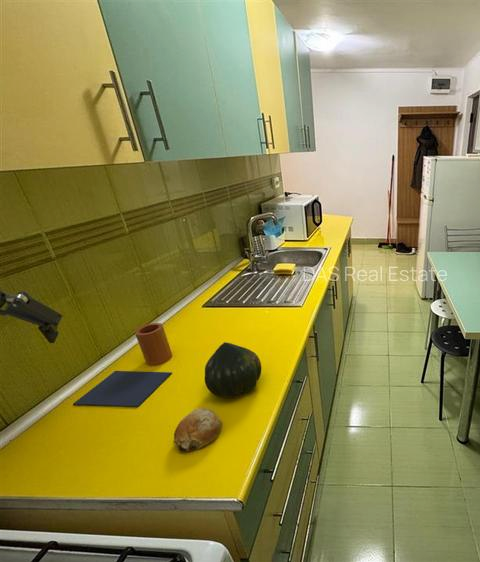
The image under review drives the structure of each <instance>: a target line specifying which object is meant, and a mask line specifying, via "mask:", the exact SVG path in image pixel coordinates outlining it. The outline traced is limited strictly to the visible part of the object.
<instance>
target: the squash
mask: <svg viewBox="0 0 480 562" xmlns="http://www.w3.org/2000/svg"><path fill="white" fill-rule="evenodd" d="M262 369H263V368H262V362H261V360H260V358H259V356H258V355H257V354H256V352H254V351H252V350H251V349H249V348H246V347H243V346H240V345H237V344H234V343H231V342H226V341H224V342H223V343H222V344H220V345H219V346H218V348H217V349H215V351H214V353H212V355H211V356H210V357H209V359H208V360H207V361H206V364H205V365H204V383H205V386H206V388H207V390H208V391H209V392H210V393H211V394H212V395H214V396H216V397H218V398H219V397H220V398H221V397H225V398H231V397H232V396H234V395H240V394H241V393H242V392H246V393H247V392H251V391H253V390H254V389H255V388H256V385H257V382H258V381H259V379H260V378H261V375H262Z"/></svg>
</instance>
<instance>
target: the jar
mask: <svg viewBox="0 0 480 562" xmlns="http://www.w3.org/2000/svg"><path fill="white" fill-rule="evenodd" d="M134 335H135V338H136V340H137V342H138V345H139V348H140V351H141V354H142V356H143V359H144V361H145V363H146V365H147V366H149V367H155V366H156V367H157V366H161V365H163V364H165V363H167V362H169V361H170V360H171V359H172V358H173V352H172V349H171V346H170V343H169V339H168V337H167V334H166V331H165V328H164V325H163V323H159V322H153V323H148V324H145V325H141V326H140V327H139V328H136V330H135V332H134Z"/></svg>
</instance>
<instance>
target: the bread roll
mask: <svg viewBox="0 0 480 562" xmlns="http://www.w3.org/2000/svg"><path fill="white" fill-rule="evenodd" d="M222 423H223V422H222V421H221V420H220V418H219V416H218V414H216V413H215V411H213V410H212V409H211V408H206V407H203V408H196V409H193V410H192V411H190V412H189V413H188V414H187V415H185V416H184V417H183V418H182V419H181V420H180V421H179V423H178V424H177V426H176V427H175V430H174V433H173V443H174V444H175V447H176V448H177V450H178V451H179V452H185V451H186V452H192V451H193V452H194V451H197V450H200V449H202V448H204V447H206V446H207V445H209V444H211V443H212V442H213V441H214V440H215V439H216V438H217V437H218V435H219V434H220V432H221V430H222Z"/></svg>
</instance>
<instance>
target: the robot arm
mask: <svg viewBox="0 0 480 562" xmlns="http://www.w3.org/2000/svg"><path fill="white" fill-rule="evenodd" d="M4 306H5V307H4ZM3 307H4V309H3ZM0 316H3V317H5V316H9V317H13V318H16V319H18V320H22V321H25V322H27V323H30V324H34V325H36V326H38V327H37V329H38V330H39V332H40V333H41V334H42V335H43V336H44V337H43V338H45V339H46V340H47V342H48V343H49V344H55V342H56V340H57V338H58V337H59V331H58V328H59V325H60V323H61V321H62V319H63V317H64V315H63V314H61V313H60V312H58V311H56V310H54V309H52V308H51V307H49V306H47V305H45V304H44V303H42V302H40V301H39V300H36V299H35V298H32V296H31V295H29V294H28V292H27V291H23V290H19V291H18V292H17V294H8V293H7V292H4V291H3V290H2V288H0Z"/></svg>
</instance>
